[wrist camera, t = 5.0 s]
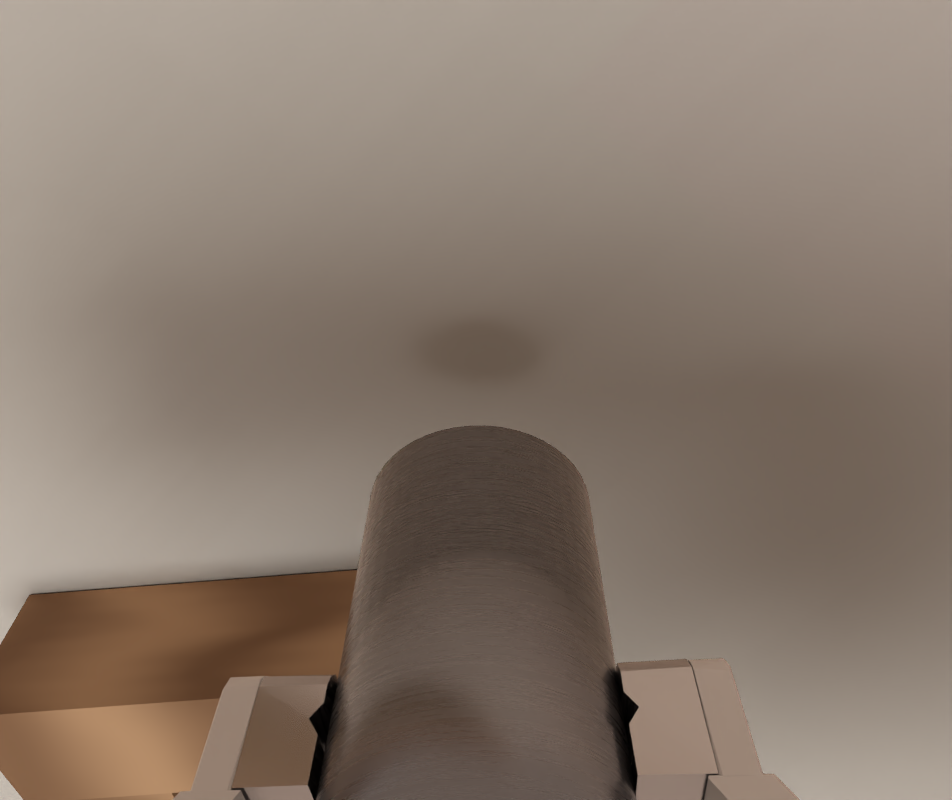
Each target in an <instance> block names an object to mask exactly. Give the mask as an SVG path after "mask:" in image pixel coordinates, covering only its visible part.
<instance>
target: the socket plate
mask: <svg viewBox="0 0 952 800" xmlns="http://www.w3.org/2000/svg"><path fill="white" fill-rule="evenodd" d="M356 575H357V570H351V571H338V572H325V573H312V574H299V575H286V576H273V577H259V578H246V579H233V580H220V581H207V582H194V583H181V584H168V585H155V586H142V587H129V588H116V589H102V590H89V591H76V592H63V593H50V594H37V595H29V597H28V598H27V600H26V602H25V604H24V605H23V607H22V609H21V610H20V612H19V614H18V616H17V617H16V619H15V621H14V622H13V624H12V626H11V628H10V629H9V631H8V633H7V634H6V636H5V638H4V639H3V641H2V643H1V645H0V771H1V772H2V773H3V775H4V776H5V777H6V778H7V780H8V781H9V782H10V783H11V785H12V786H13V787H14V788H15V790H16V791H17V792H18V793H19V795H20V796H21V797H22V798H23V800H173V798H174V797H175V796H176V795H177V794H178V793H179V792H180V791H190V790H191V787H192V784H193V781H194V778H195V775H196V772H197V769H198V765H199V762H200V759H201V756H202V753H203V750H204V747H205V743H206V740H207V737H208V734H209V731H210V728H211V725H212V721H213V718H214V715H215V712H216V709H217V706H218V703H219V700H220V696H221V693H222V690H223V688H224V687H225V685H226V684H227V682H228V681H229V679H230V677H252V676H298V675H333V674H336V677H337V680H338V674H339V669H340V663H341V658H342V652H343V647H344V641H345V636H346V630H347V624H348V619H349V613H350V608H351V602H352V597H353V591H354V586H355V580H356Z"/></svg>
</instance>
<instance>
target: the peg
mask: <svg viewBox="0 0 952 800" xmlns="http://www.w3.org/2000/svg"><path fill="white" fill-rule="evenodd" d="M627 744H628V742H627V735H626V729H625V723H624V717H623V713H622V707H621V701H620V694H619V688H618V681H617V675H616V666H615V660H614V653H613V647H612V641H611V634H610V628H609V622H608V616H607V609H606V603H605V597H604V590H603V584H602V578H601V571H600V565H599V559H598V553H597V546H596V540H595V534H594V527H593V521H592V515H591V508H590V502H589V496H588V492H587V488H586V485H585V483H584V481H583V479H582V477H581V475H580V473H579V472H578V470H577V469H576V467H575V466H574V465H573V464H572V463H571V462H570V460H569V459H568V458H567V457H566V456H565V455H563V454H562V453H561V452H560V451H558V450H557V449H556V448H554V447H553V446H551V445H549V444H548V443H546V442H545V441H543V440H540V439H538V438H536V437H534V436H532V435H529V434H526V433H523V432H520V431H517V430H512V429H507V428H502V427H494V426H464V427H455V428H450V429H446V430H441V431H438V432H435V433H432V434H429V435H426V436H424V437H422V438H420V439H418V440H415V441H413V442H412V443H410V444H409V445H407V446H405V447H404V448H402V449H401V450H400V451H399V452H397V453H396V454H395V455H394V456H393V457H392V458H391V459H390V460H389V461H388V462H387V463H386V464H385V465H384V467H383V468H382V470H381V471H380V473H379V474H378V476H377V478H376V480H375V483H374V485H373V488H372V493H371V497H370V503H369V508H368V514H367V519H366V525H365V530H364V536H363V541H362V547H361V552H360V558H359V563H358V569H357V575H356V580H355V586H354V591H353V597H352V602H351V608H350V613H349V619H348V624H347V630H346V636H345V641H344V647H343V652H342V658H341V663H340V669H339V674H338V680H337V685H336V691H335V697H334V702H333V708H332V713H331V719H330V724H329V730H328V735H327V741H326V746H325V752H324V757H323V763H322V769H321V774H320V780H319V785H318V791H317V796H316V800H637V799H636V795H635V789H634V783H633V776H632V770H631V764H630V758H629V751H628V745H627Z"/></svg>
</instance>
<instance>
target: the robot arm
mask: <svg viewBox="0 0 952 800" xmlns="http://www.w3.org/2000/svg"><path fill="white" fill-rule="evenodd" d="M616 675H617V681H618V688H619V694H620V701H621V707H622V713H623V717H624V723H625V729H626V735H627V742H628V744H627V745H628V751H629V758H630V764H631V770H632V776H633V783H634V789H635V795H636V799H637V800H800V799H799V798H798V797H797V796H796V795H795V794H794V793H793V792H792V791H791V790H790V789H789V788H788V787H787V786H786V785H785V784H784V783H783V782H782V781H781V780H780V779H779V778H778V777H777V776H776V775H775V774H763V772H762V769H761V766H760V762H759V759H758V756H757V752H756V749H755V746H754V743H753V739H752V736H751V733H750V729H749V726H748V723H747V720H746V716H745V713H744V710H743V706H742V703H741V700H740V697H739V693H738V690H737V687H736V683H735V680H734V677H733V674H732V670H731V667H730V665H729V664H728V663H727V661H726V660H725V659H723V658H716V659H698V660H687V659H677V660H659V661H641V662H623V663H617V666H616ZM336 685H337V677H336V674H333V675H298V676H252V677H230V679H229V681H228V682H227V684H226V685H225V687H224V688H223V690H222V693H221V696H220V700H219V703H218V706H217V709H216V712H215V715H214V718H213V721H212V725H211V728H210V731H209V734H208V737H207V740H206V743H205V747H204V750H203V753H202V756H201V759H200V762H199V765H198V769H197V772H196V775H195V778H194V781H193V784H192V787H191V790H190V791H180V792H179V793H178V794H177V795H176V796H175V797H174V798H173V800H316V796H317V791H318V785H319V780H320V774H321V769H322V763H323V757H324V752H325V746H326V741H327V735H328V730H329V724H330V719H331V713H332V708H333V702H334V697H335V691H336Z"/></svg>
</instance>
